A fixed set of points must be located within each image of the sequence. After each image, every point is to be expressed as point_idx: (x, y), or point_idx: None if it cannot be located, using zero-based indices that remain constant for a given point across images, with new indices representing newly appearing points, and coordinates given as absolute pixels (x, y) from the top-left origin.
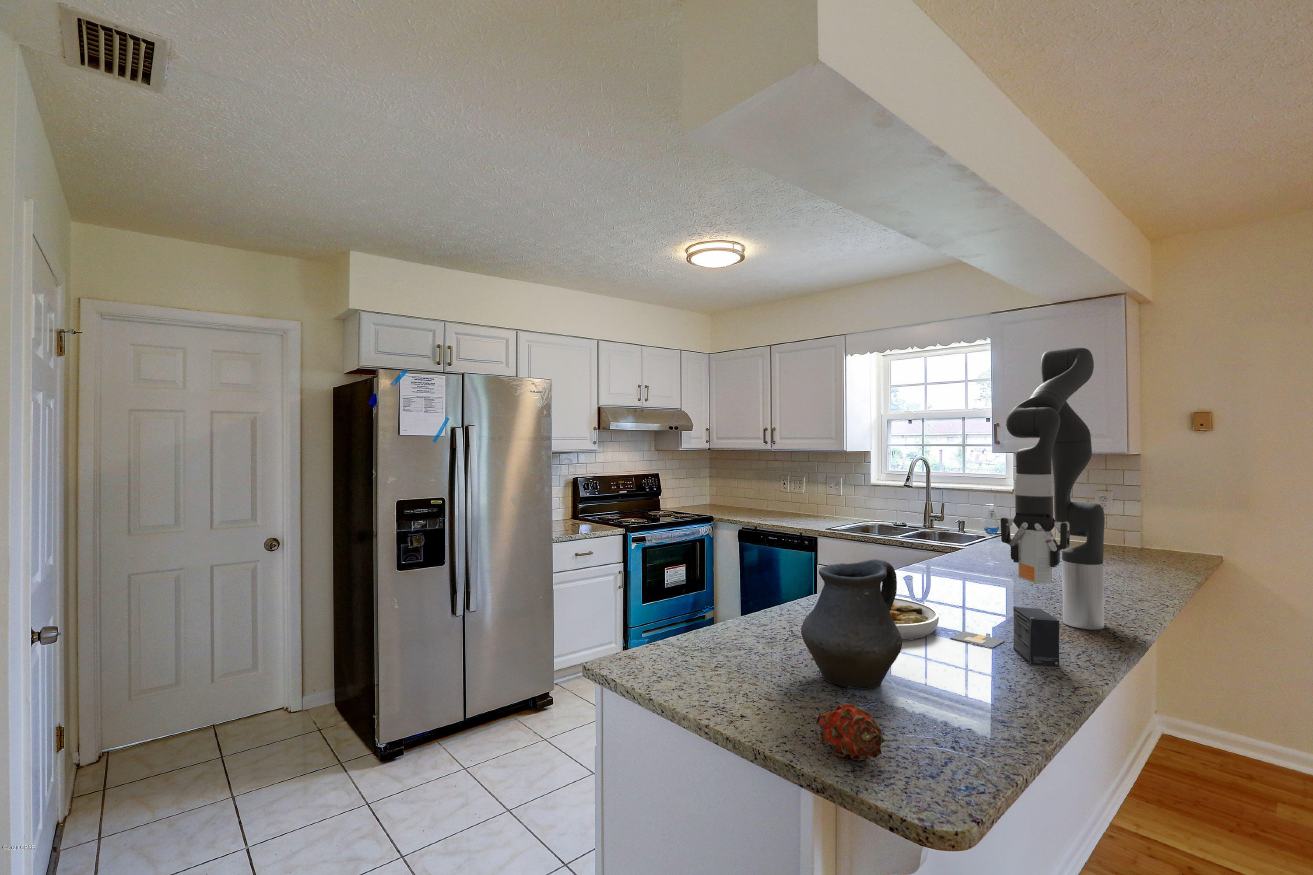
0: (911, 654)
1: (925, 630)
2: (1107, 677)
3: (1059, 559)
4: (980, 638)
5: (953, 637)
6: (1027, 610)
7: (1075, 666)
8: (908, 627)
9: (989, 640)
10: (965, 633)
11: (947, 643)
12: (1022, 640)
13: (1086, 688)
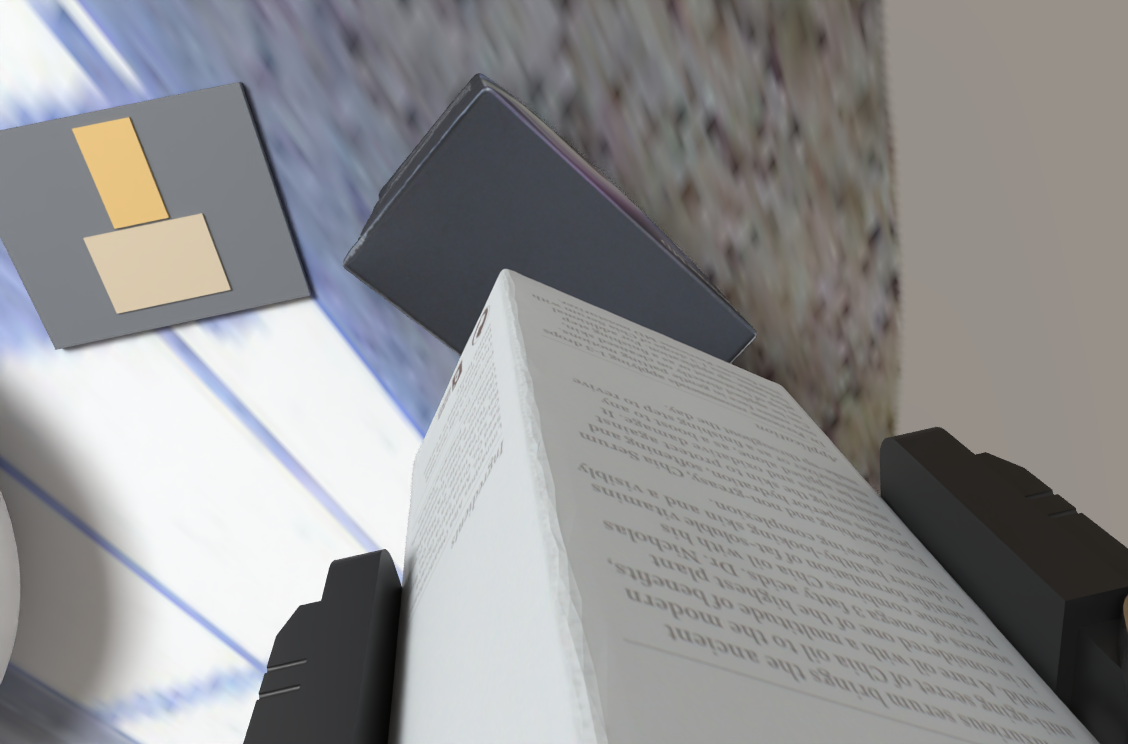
0: (199, 689)
1: (7, 530)
2: (876, 198)
3: (1057, 515)
4: (146, 201)
5: (58, 328)
6: (488, 295)
7: (720, 173)
8: (2, 663)
9: (198, 181)
10: (9, 182)
11: (127, 428)
12: None
13: (854, 417)
